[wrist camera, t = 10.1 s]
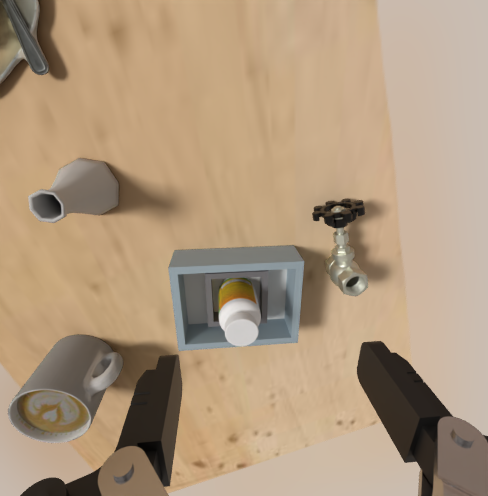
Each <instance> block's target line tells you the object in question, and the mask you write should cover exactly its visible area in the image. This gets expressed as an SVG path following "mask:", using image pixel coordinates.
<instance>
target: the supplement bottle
mask: <svg viewBox="0 0 488 496" xmlns="http://www.w3.org/2000/svg"><path fill="white" fill-rule="evenodd" d="M218 299H219V323H220V326H221V328H222V329H223V330H224V331H225V337H226V339H227V341H228V342H229V343H231V344H232V345H235V346H247V345H249V344H251V343H253V342H254V341H255V340H256V338H257V337H258V333H259V330H258V326H259V324H260V321H261V313H260V308H259V304H258V300H257V296H256V291H255V288H254V285H253V283H252V282H251V281H250V280H249V279H248V278H226V279H225V280H224V281H223V282H222V283H221V285H220V287H219V291H218Z"/></svg>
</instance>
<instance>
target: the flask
mask: <svg viewBox="0 0 488 496" xmlns="http://www.w3.org/2000/svg"><path fill="white" fill-rule="evenodd" d="M28 197H29V207H30V210H31V212H32V213H33V214H34V215H35V216H36V217H37V219H38V220H39V221H43V222H51V223H55V222H57V221H59V220H60V219H62V218H64V217H66V216H67V214H68V213H84V214H92V215H102V214H103V213H105V212H107V211H109V210H111V209H112V208H114V207H116V206H118V204H119V183H118V181H117V180H116V178H115V177H114V175H113V174H112V172H111V171H110V170H109V168H108V167H107V165H106V164H105V162H102V161H95V160H89V159H83V158H78V159H76V160H74V161H73V162H71V163H69V164H68V165H66V166H64V167H62V168H61V169H59V171H58V174H57V176H56V179H55V181H54V183H53V185H52V187H51V188H50V189H49V190H44V189H40V190H39V191H37V192H35V193H33V194H32V195H30V196H28Z"/></svg>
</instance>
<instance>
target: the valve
mask: <svg viewBox="0 0 488 496" xmlns="http://www.w3.org/2000/svg"><path fill="white" fill-rule="evenodd" d="M345 208H350V209H348V210H345ZM329 210H330V212H327V211H329ZM357 212H358V216H362V215H364V214H365V208H364V205H363V201H362V200H357V201H355V202H351V201H350V199H343V200H342V202H338V203H334V201H328V202H326V206H323V207H322V206H316V207H314V212H313V213H312V215H313V220H314V221H319V217H323V218H324V222H325V224H327V225H328V226H331V227H333V228H336V232H334V233H333V237H334V242H335V243H336V244H337V245H336V246H335V248H334V249H332V251H331V254H332V255H331V256H330V257H329V258H328V259H326V260H325V265H326V272H327V273H328V274H329V276H330V278H331V280H332V282H333V283H334V284H335V285H337V286H338V287H339V288H340V290H341V291H342V292H343V293H344V294H347V295H350V296H358V295H360V294H361V293H362V292H364V291H365V290H366V289H367V288H368V278H367V275H366V274H365V273H364V272H363V271H362V270H361V269H360V267H359V266H358V264H357V263H356V262H354V261H353V260H352V259H353V258H354V257H355V254H354V249H353V248H352V247H350V246H349V245H348V244H346V243H347V242H349V237H348V232H347V231H345V230H344V227H346V226H347V225H348V223H350V222H352V221H354V220H355V219H356V216H357Z"/></svg>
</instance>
